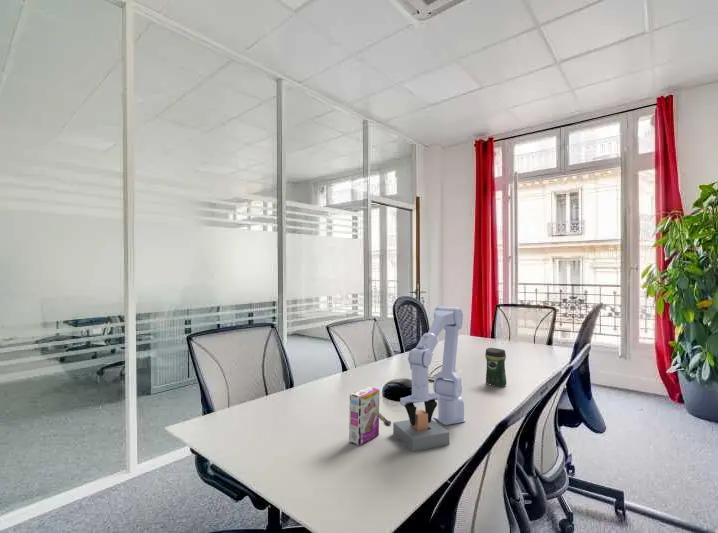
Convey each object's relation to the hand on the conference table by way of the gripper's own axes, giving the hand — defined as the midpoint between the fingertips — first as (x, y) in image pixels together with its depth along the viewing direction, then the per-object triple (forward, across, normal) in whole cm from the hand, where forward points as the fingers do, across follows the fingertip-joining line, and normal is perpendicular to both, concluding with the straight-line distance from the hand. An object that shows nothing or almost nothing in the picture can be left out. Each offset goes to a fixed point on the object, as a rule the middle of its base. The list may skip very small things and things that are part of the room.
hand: (420, 423), depth 126 cm
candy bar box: (+6, +18, -7) cm, 20 cm away
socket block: (+5, 0, 0) cm, 5 cm away
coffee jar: (+6, -67, -39) cm, 78 cm away
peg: (+5, 0, 0) cm, 5 cm away
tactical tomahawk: (+6, +6, -24) cm, 26 cm away
